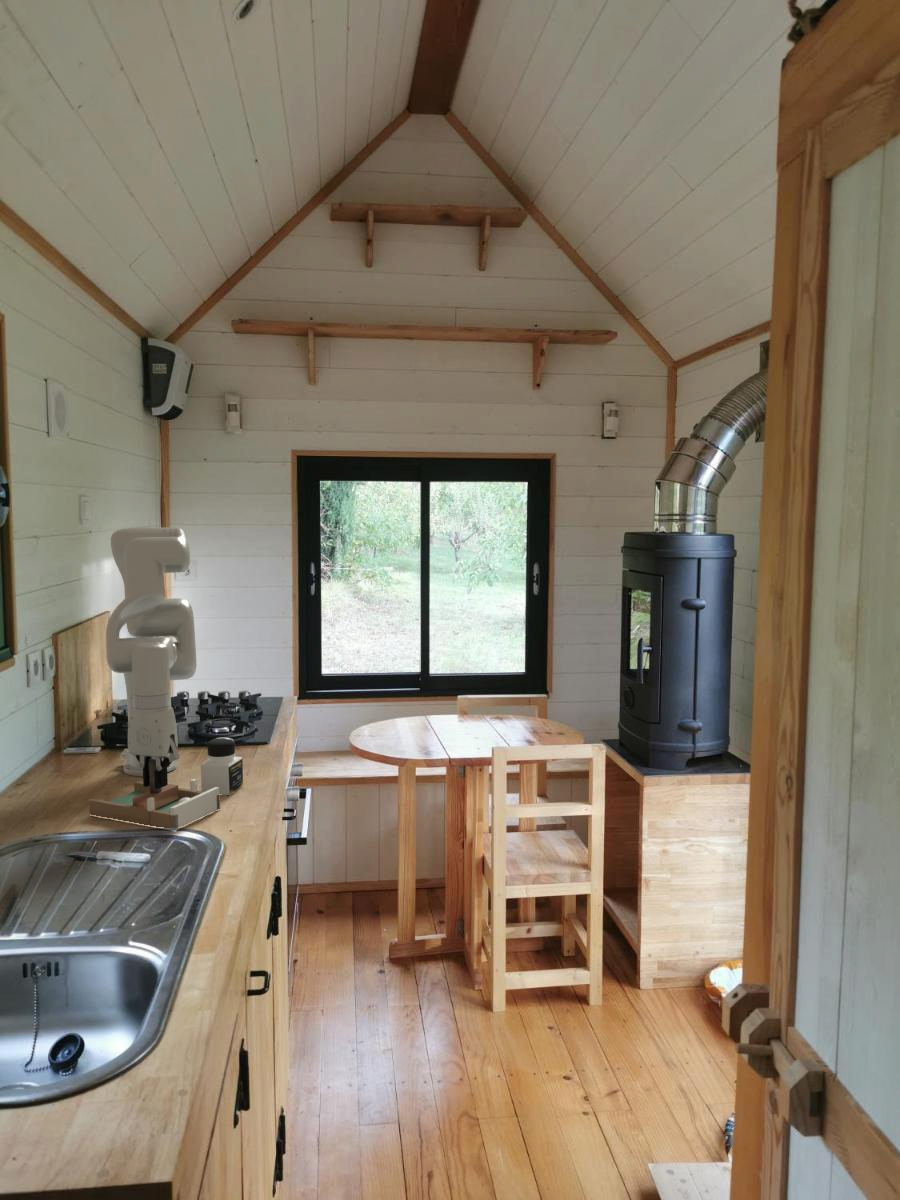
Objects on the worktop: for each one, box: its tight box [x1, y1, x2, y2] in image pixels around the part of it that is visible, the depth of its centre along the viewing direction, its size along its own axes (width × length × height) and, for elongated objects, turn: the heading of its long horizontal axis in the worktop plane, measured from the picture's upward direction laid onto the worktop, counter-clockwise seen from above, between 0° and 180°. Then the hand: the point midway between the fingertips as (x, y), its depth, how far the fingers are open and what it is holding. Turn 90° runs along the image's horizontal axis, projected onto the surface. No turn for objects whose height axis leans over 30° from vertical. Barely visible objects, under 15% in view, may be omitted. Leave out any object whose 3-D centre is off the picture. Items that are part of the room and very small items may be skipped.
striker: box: [132, 758, 179, 809], centre depth 185 cm, size 3×10×10 cm, turn 156°
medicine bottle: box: [200, 737, 244, 796], centre depth 200 cm, size 7×7×12 cm
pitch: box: [88, 778, 221, 828], centre depth 186 cm, size 23×14×6 cm, turn 66°
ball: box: [177, 797, 190, 804], centre depth 182 cm, size 4×4×4 cm
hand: (155, 785), depth 185 cm, fingers closed on striker, 2 cm apart
